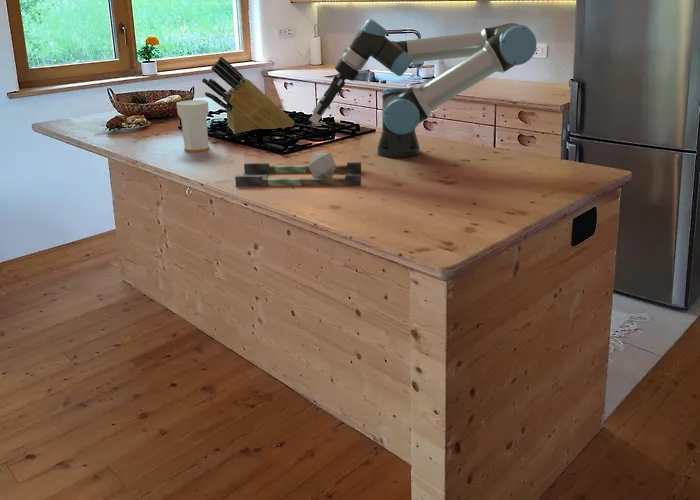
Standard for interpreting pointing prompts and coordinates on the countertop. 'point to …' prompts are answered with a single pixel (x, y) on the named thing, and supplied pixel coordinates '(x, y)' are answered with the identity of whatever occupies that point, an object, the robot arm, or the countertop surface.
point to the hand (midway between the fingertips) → (314, 118)
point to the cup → (194, 124)
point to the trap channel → (260, 171)
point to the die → (322, 165)
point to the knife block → (245, 102)
